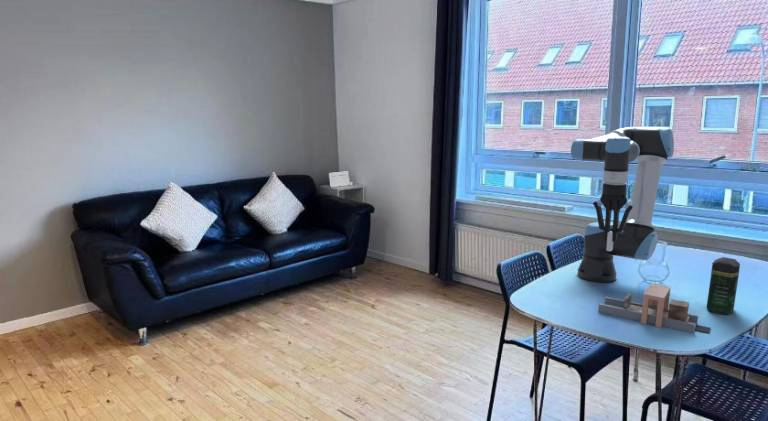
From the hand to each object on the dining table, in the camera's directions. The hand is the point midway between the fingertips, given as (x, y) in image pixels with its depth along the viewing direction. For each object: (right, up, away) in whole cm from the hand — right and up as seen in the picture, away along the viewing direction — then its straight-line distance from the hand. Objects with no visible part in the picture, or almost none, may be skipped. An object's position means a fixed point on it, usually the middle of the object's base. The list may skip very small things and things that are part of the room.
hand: (609, 250), depth 180 cm
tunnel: (+13, -23, -5) cm, 27 cm away
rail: (+11, -23, -4) cm, 25 cm away
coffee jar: (+40, -21, +2) cm, 45 cm away
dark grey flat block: (+24, -25, -14) cm, 37 cm away
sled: (+13, -22, -6) cm, 26 cm away
